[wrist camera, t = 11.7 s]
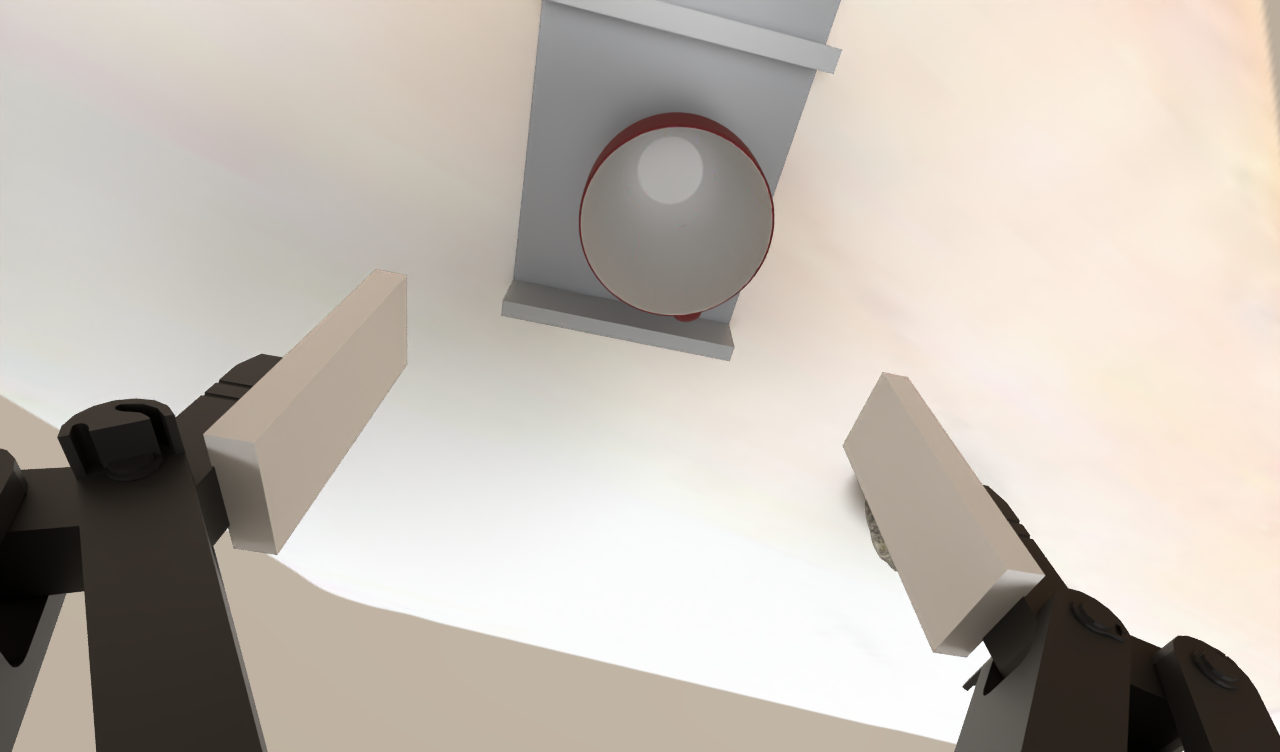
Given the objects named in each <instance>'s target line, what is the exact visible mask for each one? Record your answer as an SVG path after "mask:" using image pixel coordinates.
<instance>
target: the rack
mask: <svg viewBox="0 0 1280 752" xmlns="http://www.w3.org/2000/svg"><path fill="white" fill-rule="evenodd" d="M840 2H841V0H542V8H541V18H540V27H539V37H538V47H537V57H536V66H535V76H534V86H533V95H532V105H531V115H530V124H529V134H528V144H527V153H526V163H525V173H524V182H523V192H522V202H521V211H520V221H519V231H518V241H517V250H516V260H515V270H514V279H513V281H512V283H511V285H510V287H509V289H508V291H507V293H506V295H505V297H504V299H503V304H502V314H501V316H506V317H511V318H516V319H521V320H526V321H531V322H536V323H541V324H546V325H551V326H556V327H561V328H566V329H571V330H576V331H581V332H586V333H591V334H596V335H601V336H606V337H611V338H616V339H621V340H626V341H631V342H636V343H641V344H646V345H651V346H656V347H661V348H666V349H671V350H676V351H681V352H686V353H691V354H696V355H701V356H706V357H711V358H716V359H721V360H726V361H730V358H731V356H732V353H733V350H734V344H733V339H732V335H731V331H730V327H729V322H730V319H731V316H732V313H733V311H734V308H735V305H736V302H737V299H738V296H739V293H740V292H739V293H738V294H736V295H735V296H734V297H732V298H731V299H729V300H728V301H726V302H725V303H723V304H721V305H719V306H717V307H715V308H713V309H710V310H707V311H704V312H701V315H700V316H699V318H698V319H696V320H694V321H690V322H681V321H678V320H677V319H675V318H674V316H661V315H655V314H651V313H647V312H643V311H641V310H638V309H635V308H633V307H631V306H629V305H627V304H625V303H624V302H622V301H620V300H619V299H618V298H616V297H615V296H614V295H612V294H611V293H610V292H609V291H608V290H607V289H606V288H605V287H604V286H603V285H602V284H601V283H600V282H599V280H598V279H597V278H596V276H595V275H594V273H593V272H592V270H591V268H590V266H589V265H588V263H587V260H586V258H585V255H584V253H583V249H582V246H581V241H580V236H579V210H580V204H581V199H582V195H583V191H584V188H585V185H586V182H587V179H588V176H589V173H590V171H591V169H592V167H593V165H594V163H595V161H596V160H597V158H598V156H599V155H600V153H601V152H602V151H603V149H604V148H605V147H606V146H607V144H608V143H609V142H610V141H611V140H612V139H613V138H614V137H615V136H616V135H617V134H619V133H620V132H621V131H623V130H624V129H625V128H627V127H628V126H630V125H632V124H633V123H635V122H637V121H639V120H641V119H644V118H647V117H650V116H653V115H657V114H661V113H669V112H683V113H691V114H696V115H700V116H703V117H707V118H709V119H711V120H714V121H716V122H718V123H720V124H721V125H723V126H725V127H726V128H728V129H729V130H730V131H732V132H733V133H734V134H735V135H736V136H737V137H738V138H740V139H741V140H742V141H743V143H744V144H745V145H746V146H747V147H748V148H749V150H750V151H751V153H752V154H753V155H754V157H755V159H756V160H757V162H758V164H759V166H760V167H761V169H762V171H763V173H764V175H765V177H766V180H767V182H768V184H769V188H770V191H771V194H772V198H773V195H774V192H775V189H776V186H777V183H778V181H779V178H780V175H781V172H782V169H783V166H784V163H785V160H786V157H787V155H788V152H789V149H790V146H791V143H792V140H793V137H794V134H795V131H796V129H797V126H798V123H799V120H800V117H801V114H802V111H803V108H804V105H805V103H806V100H807V97H808V94H809V91H810V88H811V85H812V82H813V79H814V77H815V74H816V71H817V70H820V71H824V72H828V73H832V74H834V71H835V68H836V65H837V63H838V60H839V57H840V54H841V51H842V49H838V48H834V47H831V46H827V45H826V42H827V39H828V36H829V33H830V30H831V27H832V25H833V22H834V19H835V16H836V13H837V10H838V7H839V4H840Z"/></svg>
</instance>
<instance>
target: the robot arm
mask: <svg viewBox="0 0 1280 752" xmlns="http://www.w3.org/2000/svg"><path fill="white" fill-rule="evenodd" d="M406 365H407V277H406V275H402V274H397V273H392V272H387V271H382V270H377V269H376V270H375V271H373V272H372V273H371V274H370V275H369V276H368V277H367V278H366V279H365V280H364V281H363V282H362V283H361V284H360V285H359V286H358V287H357V288H356V289H355V290H354V291H353V292H351V293H350V294H349V295H348V296H347V297H346V298H345V299H344V300H343V301H342V302H341V303H340V304H339V305H338V306H337V307H336V308H335V309H334V310H333V311H332V312H331V313H329V314H328V315H327V316H326V317H325V318H324V319H323V320H322V321H321V322H320V323H319V324H318V325H317V326H316V327H315V328H314V329H313V330H312V331H311V332H310V333H309V334H308V335H306V336H305V337H304V338H303V339H302V340H301V341H300V342H299V343H298V344H297V345H296V346H295V347H294V348H293V349H292V350H291V351H290V352H289V353H288V354H287V355H286V356H284V357H283V358H282V357H277V356H271V355H266V354H260V355H258V356H256V357H253V358H251V359H249V360H247V361H244V362H242V363H240V364H237V365H236V366H235V367H234V368H232V369H231V370H230V371H229V372H228V373H227V374H225V375H224V376H223V377H222V378H221V379H220V380H219V383H215V384H214V385H213V386H212V387H210V388H209V389H208V390H207V391H206V392H205V395H204V396H202V395H201V396H200V397H199V398H198V399H197V400H195V401H194V402H193V403H192V404H191V405H190V406H188V407H187V408H186V409H185V410H184V411H183V412H182V413H180V414H179V415H178V416H177V417H176V418H175V415H174V413H173V412H172V411H171V409H170V408H169V407H168V406H167V405H165V404H162V403H160V402H157V401H155V400H146V399H137V398H136V399H125V400H115V401H111V402H107V403H103V404H100V405H96V406H93V407H90V408H88V409H86V410H84V411H82V412H80V413H78V414H76V415H74V416H73V417H72V418H70V419H69V420H68V421H67V422H66V423H65V424H63V425H62V426H61V429H60V432H59V434H58V437H57V438H58V440H59V442H60V444H61V446H62V449H63V451H64V453H65V455H66V458H67V460H68V462H69V464H70V466H71V467H65V468H46V469H30V470H29V469H28V470H21V469H20V468H19V466H18V464H17V462H16V460H15V458H14V457H13V456H12V455H11V454H10V453H9V452H8V451H7V450H4V449H0V752H12V749H13V746H14V743H15V740H16V737H17V734H18V731H19V728H20V726H21V723H22V720H23V717H24V714H25V711H26V708H27V705H28V703H29V700H30V697H31V694H32V691H33V688H34V685H35V682H36V680H37V677H38V673H39V671H40V668H41V665H42V662H43V659H44V656H45V654H46V651H47V647H48V645H49V642H50V639H51V636H52V633H53V630H54V628H55V625H56V622H57V619H58V616H59V613H60V610H61V607H62V604H63V602H64V598H65V595H66V593H72V592H81V591H84V592H85V606H86V620H87V632H88V646H89V659H90V673H91V686H92V699H93V713H94V726H95V740H96V752H267V748H266V744H265V740H264V736H263V732H262V729H261V725H260V721H259V718H258V714H257V710H256V706H255V702H254V698H253V694H252V691H251V687H250V683H249V680H248V676H247V672H246V668H245V664H244V660H243V657H242V653H241V649H240V645H239V641H238V637H237V634H236V630H235V626H234V622H233V618H232V615H231V611H230V607H229V603H228V599H227V595H226V592H225V588H224V584H223V580H222V577H221V573H220V569H219V565H218V561H217V558H216V554H215V550H214V547H213V546H214V544H215V543H216V542H217V540H218V539H219V538H220V537H221V535H222V534H223V533H224V532H225V531H226V529H227V528H228V529H229V533H230V537H231V540H232V544H233V548H234V549H241V550H248V551H254V552H261V553H268V554H274V555H278V553H279V552H280V550H281V549H282V547H283V546H284V544H285V543H286V541H287V540H288V538H289V537H290V536H291V534H292V533H293V531H294V530H295V528H296V527H297V525H298V524H299V522H300V521H301V519H302V518H303V516H304V515H305V514H306V512H307V511H308V509H309V508H310V506H311V505H312V503H313V502H314V500H315V499H316V497H317V496H318V494H319V493H320V492H321V490H322V489H323V487H324V486H325V484H326V483H327V481H328V480H329V478H330V477H331V475H332V474H333V472H334V471H335V469H336V468H337V467H338V465H339V464H340V462H341V461H342V459H343V458H344V456H345V455H346V453H347V452H348V450H349V449H350V447H351V446H352V445H353V443H354V442H355V440H356V439H357V437H358V436H359V434H360V433H361V431H362V430H363V428H364V427H365V425H366V424H367V423H368V421H369V420H370V418H371V417H372V415H373V414H374V412H375V411H376V409H377V408H378V406H379V405H380V403H381V402H382V400H383V399H384V398H385V396H386V395H387V393H388V392H389V390H390V389H391V387H392V386H393V384H394V383H395V381H396V380H397V378H398V377H399V376H400V374H401V373H402V371H403V370H404V368H405V367H406ZM843 448H844V450H845V452H846V454H847V457H848V459H849V461H850V464H851V466H852V468H853V470H854V473H855V475H856V477H857V480H858V482H859V484H860V487H861V489H862V491H863V493H864V496H865V498H866V500H867V503H868V505H869V507H870V509H871V512H872V514H873V516H874V519H875V521H876V523H877V525H878V528H879V530H880V532H881V535H882V537H883V539H884V541H885V544H886V546H887V548H888V551H889V553H890V555H891V558H892V560H893V562H894V564H895V567H896V569H897V571H898V574H899V576H900V578H901V580H902V583H903V585H904V587H905V590H906V592H907V594H908V596H909V599H910V601H911V603H912V606H913V608H914V610H915V613H916V615H917V617H918V619H919V622H920V624H921V626H922V629H923V631H924V633H925V635H926V638H927V640H928V642H929V645H930V647H931V649H932V651H933V652H934V653H940V654H947V655H954V656H960V657H967V656H968V655H969V654H970V653H971V652H972V651H973V650H974V649H975V648H976V647H977V646H978V645H979V644H980V643H981V642H982V641H984V643H985V645H986V647H987V649H988V651H989V653H990V655H991V658H990V659H989V660H988V661H987V662H986V663H985V664H984V665H983V666H982V667H981V668H980V669H979V670H978V671H977V672H976V673H975V674H974V675H973V676H972V677H971V678H970V679H969V680H968V681H967V682H966V683H965V684H964V685H963V688H964V689H966V690H967V691H968V690H969V689H970V688H971V687H972V686H975V685H976V687H975V690H974V693H973V696H972V699H971V702H970V705H969V708H968V711H967V715H966V718H965V721H964V724H963V727H962V730H961V733H960V736H959V739H958V742H957V745H956V748H955V751H954V752H1182V751H1184V752H1280V735H1279V733H1278V731H1277V729H1276V727H1275V725H1274V723H1273V721H1272V719H1271V717H1270V715H1269V713H1268V711H1267V709H1266V707H1265V705H1264V703H1263V701H1262V699H1261V697H1260V695H1259V693H1258V691H1257V689H1256V688H1255V686H1254V685H1253V683H1252V682H1251V680H1250V679H1249V677H1248V676H1247V675H1246V674H1245V673H1244V672H1243V671H1242V670H1241V669H1240V668H1239V667H1238V666H1237V664H1236V663H1235V662H1234V661H1233V660H1231V659H1230V658H1229V657H1228V656H1227V657H1226V656H1225V654H1224V653H1222V652H1221V651H1219V650H1218V649H1216V648H1213V647H1212V646H1210V645H1208V644H1206V643H1205V642H1203V641H1201V640H1198V639H1195V638H1192V637H1190V636H1177V637H1176V638H1174V639H1173V640H1172V641H1170V642H1169V643H1168V644H1167V645H1165V646H1164V647H1163V648H1160V647H1157V646H1155V645H1153V644H1150V643H1148V642H1145V641H1143V640H1141V639H1138V638H1136V637H1133V636H1131V635H1129V632H1128V631H1127V629H1126V628H1125V626H1124V625H1123V623H1122V622H1121V621H1120V620H1119V619H1118V618H1117V617H1116V616H1115V615H1114V614H1113V613H1112V612H1111V611H1110V610H1109V609H1108V608H1107V607H1106V606H1104V605H1103V604H1101V603H1100V602H1099V601H1097V600H1096V599H1094V598H1092V597H1090V596H1088V595H1086V594H1084V593H1082V592H1080V591H1076V590H1073V589H1069V588H1067V586H1066V585H1065V583H1064V582H1063V581H1062V579H1061V578H1060V576H1059V575H1058V574H1057V572H1056V571H1055V569H1054V568H1053V567H1052V565H1051V564H1050V562H1049V561H1048V560H1047V558H1046V557H1045V555H1044V554H1043V553H1042V551H1041V550H1040V548H1039V547H1038V546H1037V544H1036V543H1035V541H1034V540H1033V539H1030V535H1029V533H1028V532H1027V530H1026V529H1025V528H1024V526H1023V525H1022V524H1019V522H1020V521H1019V519H1018V518H1017V516H1016V515H1015V514H1014V512H1013V511H1012V509H1011V508H1010V507H1009V505H1008V504H1007V503H1006V502H1005V501H1004V500H1003V499H1002V498H1001V497H1000V496H999V495H997V494H996V493H995V492H994V491H993V490H992V489H991V488H990V487H989V486H985V485H982V483H981V482H980V481H979V479H978V478H977V476H976V475H975V473H974V472H973V470H972V469H971V468H970V466H969V465H968V463H967V462H966V460H965V459H964V457H963V456H962V455H961V453H960V452H959V450H958V449H957V447H956V446H955V444H954V443H953V442H952V440H951V439H950V437H949V436H948V434H947V433H946V431H945V430H944V429H943V427H942V426H941V424H940V423H939V421H938V420H937V418H936V417H935V416H934V414H933V413H932V411H931V410H930V408H929V407H928V406H927V404H926V403H925V401H924V400H923V398H922V397H921V395H920V394H919V393H918V391H917V390H916V388H915V387H914V385H913V384H912V382H911V381H910V380H909V378H908V377H904V376H899V375H894V374H890V373H885V372H882V374H881V376H880V378H879V380H878V382H877V383H876V385H875V387H874V389H873V391H872V393H871V394H870V396H869V398H868V400H867V402H866V404H865V405H864V407H863V409H862V411H861V413H860V415H859V416H858V418H857V420H856V422H855V424H854V426H853V427H852V429H851V431H850V433H849V435H848V437H847V438H846V440H845V442H844V444H843Z"/></svg>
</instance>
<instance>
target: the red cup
mask: <svg viewBox="0 0 1280 752" xmlns="http://www.w3.org/2000/svg"><path fill="white" fill-rule="evenodd" d="M773 229H774V205H773V199H772V194H771V191H770V188H769V184H768V182H767V180H766V177H765V175H764V173H763V171H762V169H761V167H760V166H759V164H758V162H757V160H756V159H755V157H754V155H753V154H752V153H751V151H750V150H749V148H748V147H747V146H746V145H745V144H744V143H743V141H742V140H741V139H740V138H738V137H737V136H736V135H735V134H734V133H733V132H732V131H730V130H729V129H728V128H726V127H725V126H723V125H721V124H720V123H718V122H716V121H714V120H711V119H709V118H707V117H703V116H700V115H696V114H691V113H683V112H669V113H661V114H657V115H653V116H650V117H647V118H644V119H641V120H639V121H637V122H635V123H633V124H632V125H630V126H628V127H627V128H625V129H624V130H623V131H621V132H620V133H619V134H617V135H616V136H615V137H614V138H613V139H612V140H611V141H610V142H609V143H608V144H607V146H606V147H605V148H604V149H603V151H602V152H601V153H600V155H599V156H598V158H597V160H596V161H595V163H594V165H593V167H592V169H591V171H590V173H589V176H588V179H587V182H586V185H585V188H584V191H583V195H582V199H581V204H580V210H579V236H580V241H581V246H582V249H583V253H584V255H585V258H586V260H587V263H588V265H589V266H590V268H591V270H592V272H593V273H594V275H595V276H596V278H597V279H598V280H599V282H600V283H601V284H602V285H603V286H604V287H605V288H606V289H607V290H608V291H609V292H610V293H611V294H612V295H614V296H615V297H616V298H618V299H619V300H620V301H622V302H624V303H625V304H627V305H629V306H631V307H633V308H635V309H638V310H641V311H643V312H647V313H651V314H655V315H661V316H674V318H675V319H677V320H678V321H681V322H690V321H694V320H696V319H698V318H699V316H700V315H701V312H704V311H707V310H710V309H713V308H715V307H717V306H719V305H721V304H723V303H725V302H726V301H728V300H729V299H731V298H732V297H734V296H735V295H736V294H738V293H739V292H740V291H741V290H742V289H743V288H744V287H745V286H746V285H747V284H748V283H749V282H750V281H751V280H752V279H753V277H754V276H755V275H756V273H757V272H758V270H759V269H760V267H761V265H762V264H763V262H764V260H765V258H766V255H767V253H768V250H769V247H770V244H771V240H772V236H773Z"/></svg>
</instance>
